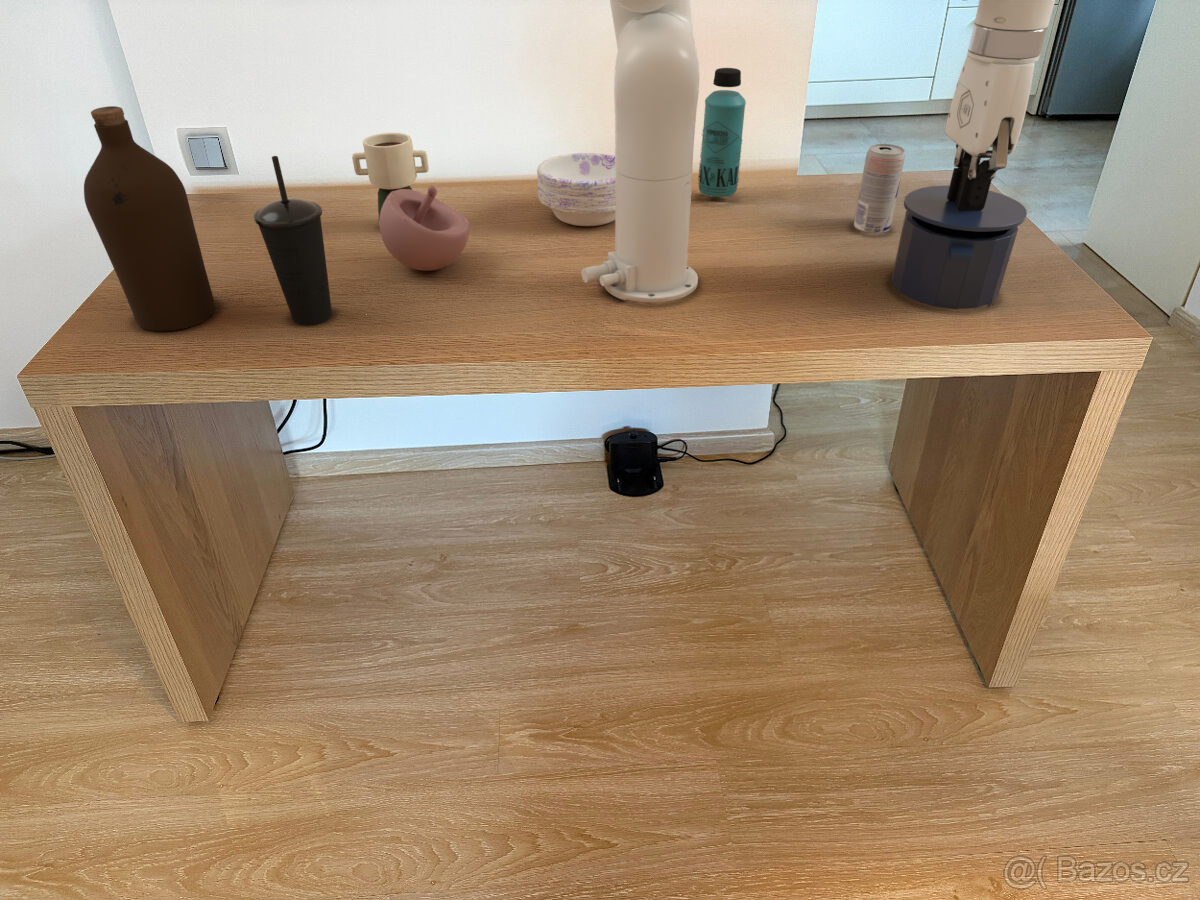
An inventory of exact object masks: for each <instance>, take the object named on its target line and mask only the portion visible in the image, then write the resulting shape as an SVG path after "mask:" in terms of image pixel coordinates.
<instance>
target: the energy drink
mask: <svg viewBox="0 0 1200 900" xmlns="http://www.w3.org/2000/svg"><path fill="white" fill-rule="evenodd" d="M905 151H906V150H905V148H903V147H902V146H900V145H896V144H890V143H876V144H872V145H870V146H869V147H868V149H867V151H866V154H865V159H864V165H863V170H862V177H861V182H860V186H859V187H860V188H859V191H858V192H859V193H858V197H857V204H856V210H855V216H854V220H853V227H854V228H855V229H856V230H858V231H861V232H864V233H871V234H882V233H886V232H889V231H890V230H891V226H892V223H893V217H894V212H895V207H896V203H897V198H898V193H899V189H900V183H901V178H902V174H903V170H904V164H905V161H906V152H905Z"/></svg>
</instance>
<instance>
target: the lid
mask: <svg viewBox="0 0 1200 900" xmlns="http://www.w3.org/2000/svg"><path fill="white" fill-rule="evenodd" d="M970 164H971V163H969V164H965V165H964V168H963V172H962V176H961V180H960V184H959V188H958V192H957V196H956V200H955V201H949V200H948V199H947V195H948V191H949V187H950V185H932V186H926V187H921V188H917V189H914V190H912V191H910V192H908V193H907V194H906V195H905V197H904V200H903V207H904V209H905V211H908V212H909V213H910V214H911V215H913V216H914V217H916V218H918V219H920V220H922V221H925V222H927V223H930V224H933V225H937V226H941V227H945V228H950V229H956V230H963V231H975V232H991V231H1001V230H1007V229H1011V228H1014V227H1019V226H1020V225H1022V224H1023V223H1024V222H1025V221H1026V219H1027V215H1028V212H1027V209H1026V207H1025V206H1024V205H1023V204H1022V203H1021V202H1019V201H1018V200H1017V199H1015V198H1012V197H1010V196H1009V195H1006V194H1002V193H999V192H996V191H992V190H989V192H988V195H987V199H986V203H985V206H984V209H983V210H973V211H960V210H958V209H957V204H958V200H959V196H960V192H961V188H962V184H963V180H964V177H968V172H969V168H970Z"/></svg>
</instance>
